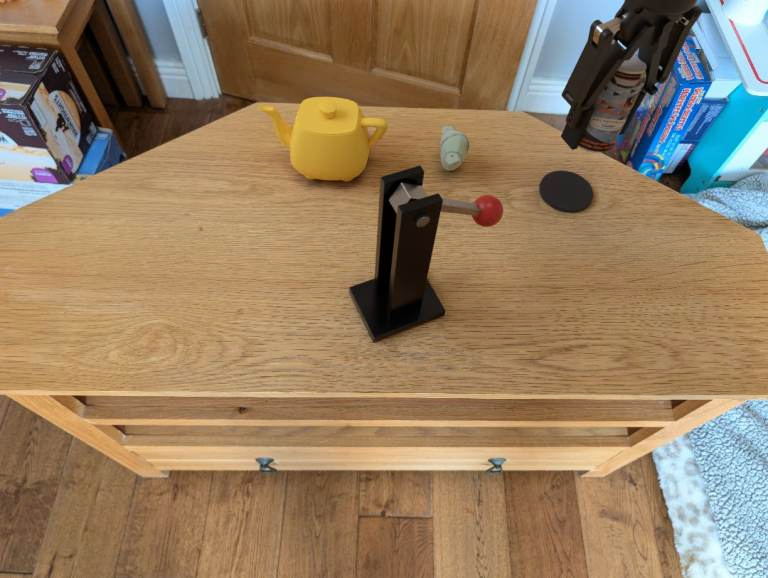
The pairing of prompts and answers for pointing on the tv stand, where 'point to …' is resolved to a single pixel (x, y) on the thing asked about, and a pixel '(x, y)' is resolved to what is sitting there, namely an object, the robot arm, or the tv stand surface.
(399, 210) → the bracket
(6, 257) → the tv stand surface
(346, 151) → the teapot
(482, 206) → the lever
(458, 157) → the pale green rounded lump
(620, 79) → the beverage can
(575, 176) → the coaster
